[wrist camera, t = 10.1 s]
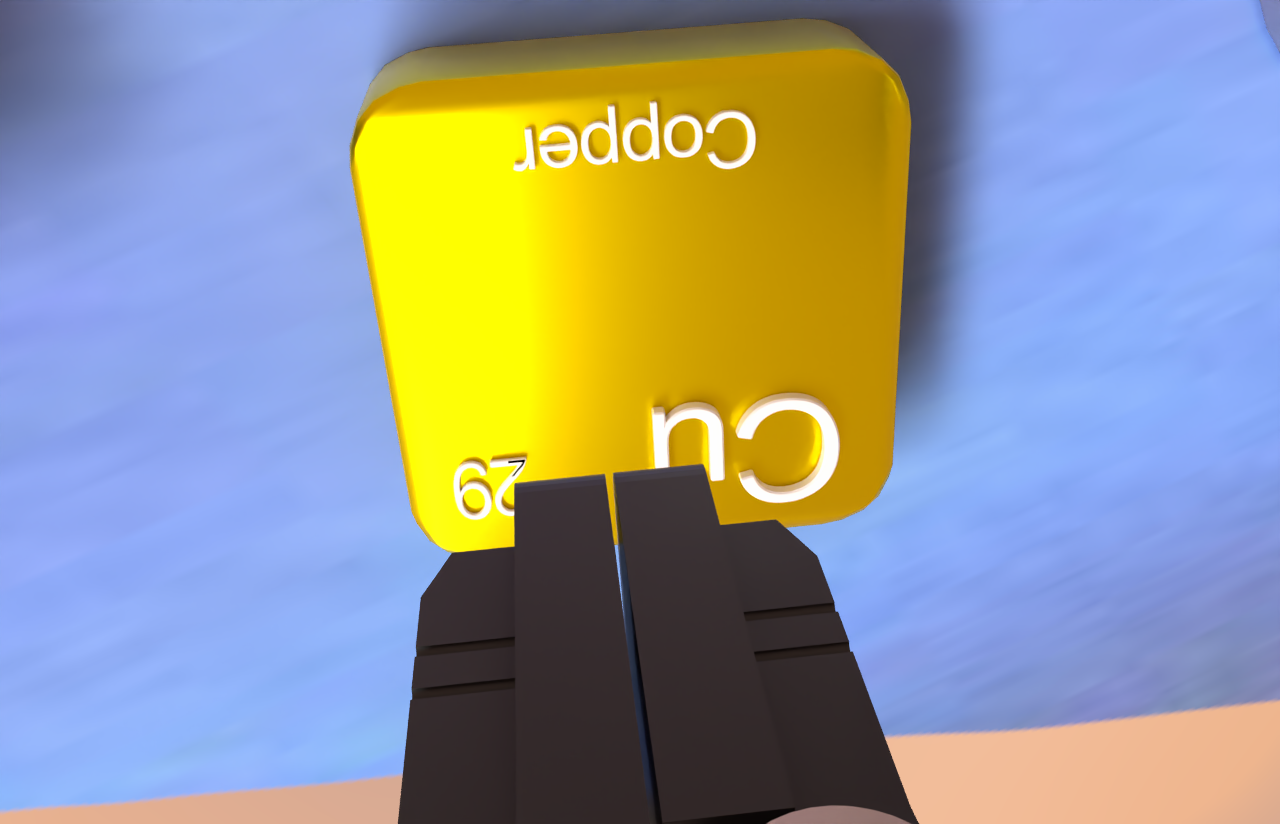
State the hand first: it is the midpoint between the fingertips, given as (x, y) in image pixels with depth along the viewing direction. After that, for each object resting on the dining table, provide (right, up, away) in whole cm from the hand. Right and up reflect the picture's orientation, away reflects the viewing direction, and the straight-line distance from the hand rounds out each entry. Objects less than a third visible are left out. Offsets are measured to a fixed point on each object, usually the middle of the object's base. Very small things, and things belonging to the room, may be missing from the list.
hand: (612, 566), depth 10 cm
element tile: (0, +6, +29) cm, 29 cm away
